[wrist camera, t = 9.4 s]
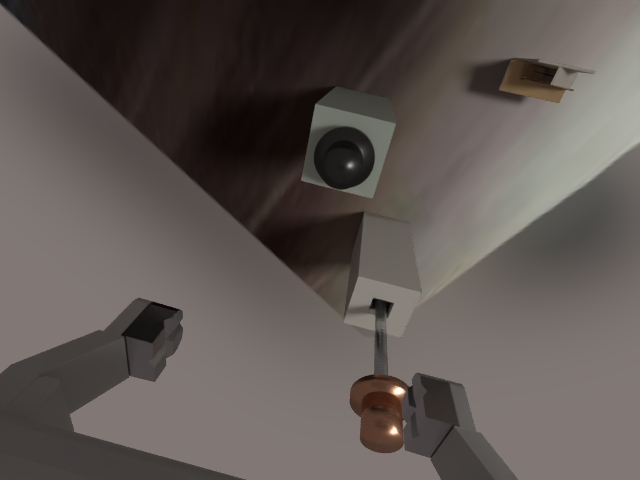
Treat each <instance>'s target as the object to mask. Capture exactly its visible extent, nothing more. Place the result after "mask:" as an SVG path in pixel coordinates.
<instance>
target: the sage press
mask: <svg viewBox="0 0 640 480" xmlns="http://www.w3.org/2000/svg"><path fill="white" fill-rule="evenodd" d="M395 125H396V122H395V117H394V113H393V109H392V105H391V101H390V99H389V98H385V97H380V96H376V95H372V94H368V93H364V92H360V91H356V90H352V89H348V88H343V87H339V86H336V87H335V88H334V89H332V90H331V91H330V92H329V93H328V94H327V95H325V96H324V97H323V98H322V99H321V100H319V101H318V102H317V103H316V104H315V109H314V114H313V120H312V125H311V130H310V136H309V141H308V146H307V152H306V157H305V163H304V168H303V173H302V179H301V181H305V182H309V183H313V184H317V185H321V186H325V187H329V188H332V187H330V186H328V185H327V184H326V183H325V182H324V180H323V179H322V178H321V177H320V176H319V174H318V172H317V170H316V168H315V165H314V151H315V148H316V145H317V143H318V142H319V140H320V139H321V137H322V136H323V135H324V134H325V133H326V132H328V131H329V130H331V129H333V128H335V127H339V126H351V127H354V128H357V129H359V130H361V131H362V132H364V133H365V134H366V135H367V136H368V137H369V139H370V140H371V142H372V144H373V147H374V151H375V163H374V167H373V170H372V172H371V174H370V175H369V177H368V178H367V179H366V180H365V181H364V182H363V183H361V184H359V185H357V186H355V187H352V188H348V189H344V190H340V191H344V192H348V193H352V194H356V195H360V196H364V197H368V198H372V199H373V196H374V193H375V190H376V186H377V183H378V180H379V177H380V174H381V170H382V167H383V164H384V161H385V157H386V154H387V151H388V148H389V145H390V141H391V138H392V135H393V132H394V128H395ZM332 189H334V188H332ZM336 190H338V189H336Z"/></svg>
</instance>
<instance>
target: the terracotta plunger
mask: <svg viewBox="0 0 640 480" xmlns="http://www.w3.org/2000/svg"><path fill="white" fill-rule="evenodd" d="M391 303H392V302H388V301H384V300H381V299H377V298H373V299H372V302H371V305H370V306H373V307H375V359H374V362H375V363H374V375H369V376H365V377H362V378H360V379H358V380H357V381H356V382H355V383H354V384H353V385H352V387H351V391H350V405H351V408H352V409H353V411H354V412H355V413H356V414H357V415H358V416H360V417H361V428H360V429H361V430H360V440H361V443H362V444H363V445H364V446H365V447H366V448H368V449H370V450H372V451H375V452H379V453H392V452H395V451H397V450H399V449H400V448H401V447H402V446H403V444H404V439H403V424H402V421H403V420H404V418H403V417H402V402H403V398H404V394H405V392H406V390H407V388H408V387H409V386H408V385H407V384H406V383H404V382H403V381H401V380H400V379H398V378H395V377H392V376H388V363H387V327H386V310H389V308H390V306H391Z"/></svg>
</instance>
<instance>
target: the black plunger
mask: <svg viewBox="0 0 640 480" xmlns="http://www.w3.org/2000/svg"><path fill="white" fill-rule="evenodd" d="M374 163H375V151H374V147H373V144H372V142H371V140H370V139H369V137H368V136H367V135H366V134H365V133H364V132H362V131H361V130H359V129H357V128H354V127H351V126H339V127H335V128H333V129H331V130H329V131H328V132H326V133H325V134H324V135H323V136H322V137H321V139H320V140H319V142H318V143H317V145H316V148H315V151H314V165H315V168H316V170H317V172H318V174H319V176H320V177H321V178H322V179H323V180H324V182H325V183H326V184H327V185H328V186H330V187H332V188H334V189H338V190H344V189H348V188H352V187H355V186H357V185H359V184H361V183H363V182H364V181H365V180H366V179H367V178H368V177H369V175H370V174H371V172H372V170H373V167H374Z"/></svg>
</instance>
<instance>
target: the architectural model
mask: <svg viewBox="0 0 640 480" xmlns="http://www.w3.org/2000/svg"><path fill="white" fill-rule="evenodd" d="M533 64H534V65H533ZM537 65H539V66H537ZM540 66H543V67H540ZM544 67H548V68H552V69H557V72H556V74H555V76H553V77H554V78H553V80H552V82H551V84H550V85H549V84H545V83H547V82H546V81H541V80H542V78H543V76H544V74H545V72H546V70H547V68H544ZM579 72H582V73H591V74H594V73H595V71H591V70H587V69H582V68H578V67H573V66H568V65H564V64H559V63H554V62H550V61H545V60H540V59H523V58H515V59H514V60H511V61H510V64H509V66H508V68H507V71H506V73H505V75H504V78H503V80H502V83H501V85H500V87H499V90H501V91H506V92H510V93H515V94H519V95H524V96H528V97H533V98H537V99H542V100H547V101H551V102H556V103H559V102H560V100H561V98H562V96H563V94H564V92H565V90H570V91H574V90H573V89H570V88H571V86H572V84H573V82H574V80H575V78H576V76H577V74H578V73H579ZM545 75H548V74H545ZM549 76H552V75H549ZM522 78H524V79H522ZM525 78H527V79H531V80H535V81H540V82H543V83H540V82H535V81H531V80H526V79H525Z"/></svg>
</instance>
